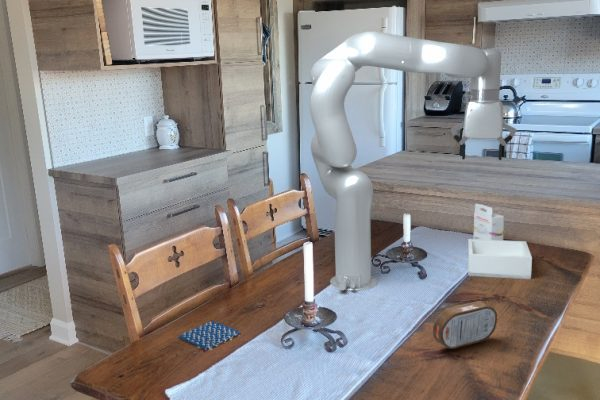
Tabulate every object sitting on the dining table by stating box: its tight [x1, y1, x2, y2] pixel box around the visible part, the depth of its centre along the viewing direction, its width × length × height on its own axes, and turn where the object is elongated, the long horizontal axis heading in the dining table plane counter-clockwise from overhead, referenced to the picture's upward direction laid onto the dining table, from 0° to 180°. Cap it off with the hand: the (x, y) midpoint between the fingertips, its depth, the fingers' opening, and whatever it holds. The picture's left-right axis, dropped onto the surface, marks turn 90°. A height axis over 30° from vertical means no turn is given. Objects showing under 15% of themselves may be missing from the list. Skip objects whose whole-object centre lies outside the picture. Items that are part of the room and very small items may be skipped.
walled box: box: [467, 238, 533, 280], centre depth 162 cm, size 15×16×6 cm
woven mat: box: [178, 320, 242, 353], centre depth 126 cm, size 10×11×2 cm
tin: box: [432, 300, 498, 350], centre depth 119 cm, size 15×3×8 cm, turn 114°
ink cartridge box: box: [472, 203, 505, 240], centre depth 176 cm, size 9×5×15 cm, turn 22°
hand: (481, 159), depth 159 cm, fingers open, 9 cm apart
